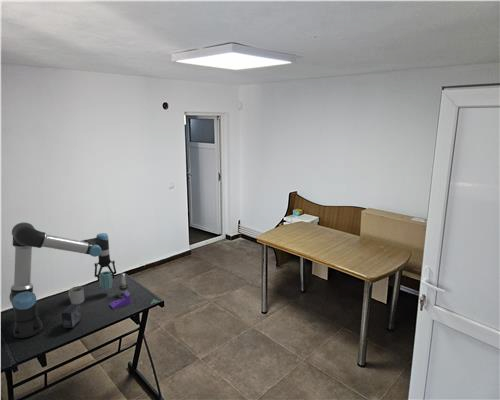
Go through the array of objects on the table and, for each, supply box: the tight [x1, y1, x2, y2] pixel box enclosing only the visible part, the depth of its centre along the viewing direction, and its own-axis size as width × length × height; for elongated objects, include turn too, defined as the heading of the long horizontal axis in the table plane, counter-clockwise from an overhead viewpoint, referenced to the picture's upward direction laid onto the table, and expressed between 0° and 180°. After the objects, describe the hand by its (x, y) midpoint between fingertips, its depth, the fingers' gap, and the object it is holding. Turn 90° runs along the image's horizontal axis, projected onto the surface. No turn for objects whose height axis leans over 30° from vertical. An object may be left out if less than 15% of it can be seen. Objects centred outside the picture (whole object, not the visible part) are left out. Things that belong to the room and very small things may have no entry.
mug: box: [67, 285, 86, 305], centre depth 242 cm, size 11×10×10 cm
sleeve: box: [100, 270, 113, 290], centre depth 249 cm, size 7×7×11 cm
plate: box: [118, 291, 131, 299], centre depth 251 cm, size 8×8×1 cm
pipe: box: [119, 272, 128, 296], centre depth 249 cm, size 5×5×16 cm
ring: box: [118, 284, 129, 291], centre depth 250 cm, size 6×6×2 cm
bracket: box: [109, 293, 131, 310], centre depth 238 cm, size 12×7×7 cm, turn 129°
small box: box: [61, 303, 82, 329], centre depth 214 cm, size 11×6×10 cm, turn 178°
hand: (106, 283), depth 249 cm, fingers closed on sleeve, 7 cm apart
